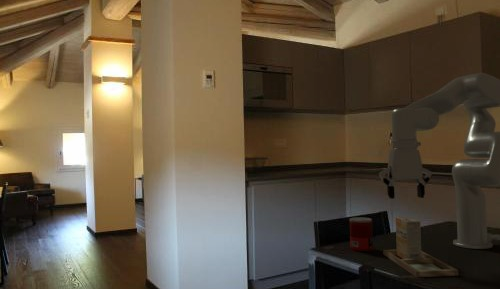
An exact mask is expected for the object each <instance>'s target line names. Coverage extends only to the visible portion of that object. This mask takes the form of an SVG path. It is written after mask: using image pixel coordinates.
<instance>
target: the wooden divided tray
mask: <svg viewBox="0 0 500 289" xmlns="http://www.w3.org/2000/svg"><path fill="white" fill-rule="evenodd" d="M382 252H383V256H385V257H386V258H388V259H390V261H392V262H394V263H395V264H397V265H398V266H400V267H401V268H403V269H404V270H406V271H407V272H408V273H410V274H411V275H413V276H414V277H415V278H420V277H421V278H422V277H423V278H425V277H427V278H428V277H429V278H430V277H452V276H453V277H454V276H455V277H456V276H459V269H457V268H455V267H453V266H451V265H449V264H447V263H445V262H443V261H442V260H440V259H438V258H436V257H434V256H432V255H431V254H428V253H426V252H424V251H423V250H421V258H419V259H402V258H400V257H399V256H397V248H396V249H383V251H382Z"/></svg>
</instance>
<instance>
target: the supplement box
mask: <svg viewBox="0 0 500 289" xmlns="http://www.w3.org/2000/svg"><path fill="white" fill-rule="evenodd" d="M395 234H396V237H395V238H396V240H395V242H396V249H397V255H396V257H398V258H400V259H419V258H422V257H421V251H422V234H421V221H420V220H418V219H415V218H412V217H409V216H397V217H395Z"/></svg>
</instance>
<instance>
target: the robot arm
mask: <svg viewBox="0 0 500 289" xmlns="http://www.w3.org/2000/svg"><path fill="white" fill-rule="evenodd" d="M461 104H463V106H464V108H465V110H466V112H467V114H468V117H469V126H468V128H467V129H468V130H467V133H466V136H465V140H464V143H463V153H464V155H465V156H467V157H469V158H464V159H460V160H457V161H456V162H455V163H454V164H453V165H452V168H451V175H452V179H453V184H454V187H455V201H456V202H455V204H456V205H455V207H456V225H457V226H456V227H457V228H456V229H457V232H456V233H457V239H453V240H452V244H453V245H455V246H456V247H460V248H464V249H473V250H474V249H475V250H487V249H491V248H493V247H494V246H493V243H492V241H500V234H492V233H489V232H488V226H487V225H488V224H487V204H486V203H487V199H486V195H485V193H484V191H483V189H482V187H483V186H484V187H499V186H500V131H495V129H496V120H495V118H494V117H493V116H492V114H491V113H490V112H489V111H488V109H492V108H500V79H499V78H497V77H495V76H493V75H491V74H489V73H485V72H477V73H473V74H468V75H463V76H459V77H456V78H454V79H453V80H451V81H449V82H448V83H447V84H446V85H444V86H443V87H442V88H439V90H437V91H435V92H433V93H432V94H429V95H427V96H425V97H423V98H420V99H418V100H416V101H414V102H412V103H410V104H408V105H406V107H401V108H396V109H393V110H392V111H391V138H392V139H391V140H392V141H391V142H392V143H391V144H392V150H389V154H388V159H387V160H388V163H387V168H386V169H383V170H382V171H380V172H379V173H378V176H379V177H380V179H381V182H383V183H384V184H385V185H386V186H387V187H386V188H387V190H386V191H387V196H388V198H389V199H392V200H393V199H395V186H394V184H395V183H396V182H397V181H416V182H417V187H416V190H417V191H416V192H417V197H418V198H419V199H424V198H425V194H426V192H425V191H426V190H425V187H426V185H427V183H428V182H429V181H431V180H430V179H431V176H432V175H433V171H431V170H429V169H427V168H425V167H423V162H422V157H421V152H420V149H418V147H421V146H422V145H421V144H422V143H421V142H420V141H418V139H417V136H418V135H417V132H423V131H430V130H433V129H434V128H436V127H437V126H438V124H439V121H440V116H442V115H445V114H448V113H450V112H453V110H454V109H456V108H457V107H459V106H460V105H461ZM424 174H425V176H424V177H423V175H424ZM386 175H387V176H386ZM387 177H388V178H387Z"/></svg>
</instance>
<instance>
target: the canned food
mask: <svg viewBox="0 0 500 289" xmlns="http://www.w3.org/2000/svg"><path fill="white" fill-rule="evenodd" d="M373 231H374V230H373V219H372V218H369V217H363V216H361V217H360V216H359V217H358V216H356V217H350V218H349V242H350V244H349V246H350V249H351V250H352V251H354V252H360V251H368V252H371V251H373V249H374V236H373V235H374V233H373Z"/></svg>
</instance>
